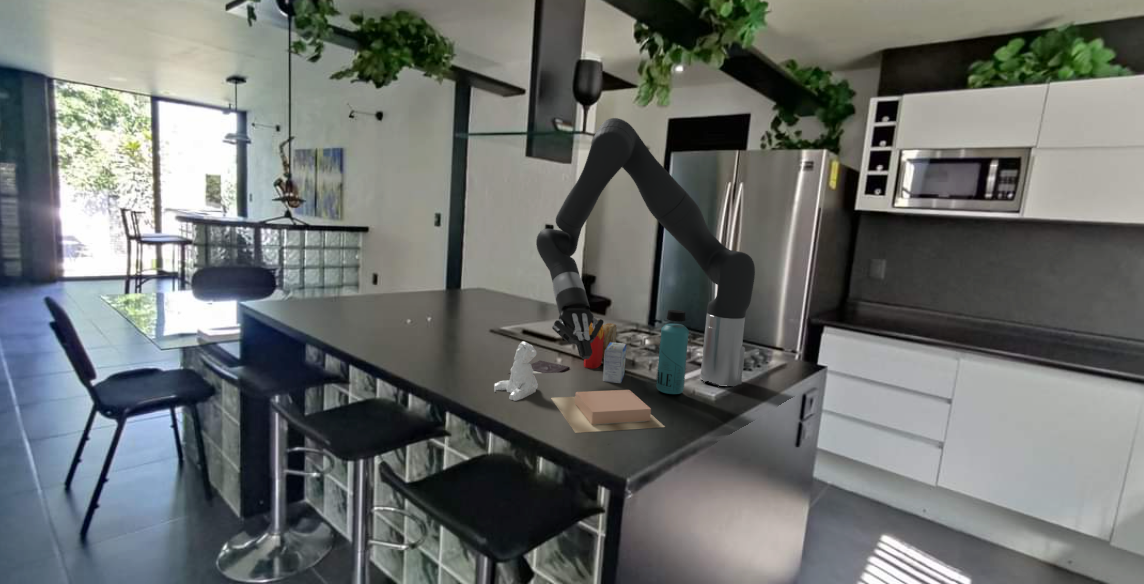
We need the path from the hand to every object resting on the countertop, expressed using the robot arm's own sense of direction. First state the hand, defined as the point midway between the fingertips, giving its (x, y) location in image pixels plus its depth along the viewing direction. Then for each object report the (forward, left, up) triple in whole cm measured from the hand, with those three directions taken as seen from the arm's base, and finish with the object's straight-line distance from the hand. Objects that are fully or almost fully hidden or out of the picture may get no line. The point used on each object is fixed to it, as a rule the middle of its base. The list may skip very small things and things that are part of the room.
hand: (586, 357), depth 120 cm
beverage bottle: (-19, +5, -8) cm, 21 cm away
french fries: (-9, -20, -8) cm, 23 cm away
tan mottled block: (-15, -26, -8) cm, 31 cm away
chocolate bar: (+8, -14, -9) cm, 18 cm away
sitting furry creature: (+15, 0, -8) cm, 17 cm away
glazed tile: (-1, +10, -6) cm, 11 cm away
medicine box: (-10, -7, -8) cm, 14 cm away
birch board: (0, +14, -8) cm, 16 cm away
